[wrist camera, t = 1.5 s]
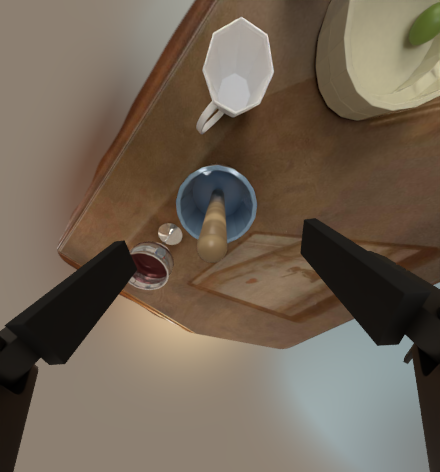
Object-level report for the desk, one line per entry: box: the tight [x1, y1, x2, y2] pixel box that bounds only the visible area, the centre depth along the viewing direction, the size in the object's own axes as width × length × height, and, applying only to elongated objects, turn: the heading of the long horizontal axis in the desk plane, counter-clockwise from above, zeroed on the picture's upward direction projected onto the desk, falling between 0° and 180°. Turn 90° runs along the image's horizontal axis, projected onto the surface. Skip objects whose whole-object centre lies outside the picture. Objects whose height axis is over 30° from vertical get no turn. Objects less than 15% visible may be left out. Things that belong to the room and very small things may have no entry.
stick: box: [197, 189, 227, 263], centre depth 19 cm, size 2×2×20 cm
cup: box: [196, 17, 274, 134], centre depth 19 cm, size 7×10×8 cm
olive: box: [409, 2, 440, 45], centre depth 18 cm, size 3×3×3 cm
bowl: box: [316, 0, 440, 121], centre depth 17 cm, size 16×16×6 cm
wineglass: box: [129, 223, 182, 290], centre depth 27 cm, size 7×7×12 cm
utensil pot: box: [176, 163, 257, 243], centre depth 24 cm, size 10×10×10 cm
